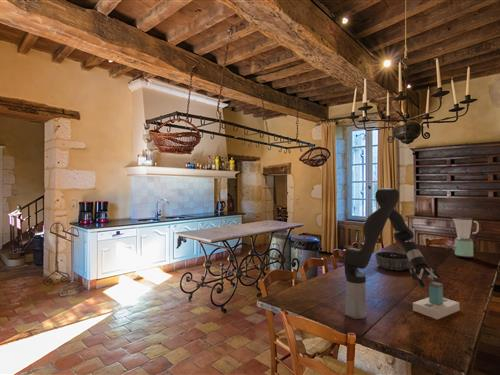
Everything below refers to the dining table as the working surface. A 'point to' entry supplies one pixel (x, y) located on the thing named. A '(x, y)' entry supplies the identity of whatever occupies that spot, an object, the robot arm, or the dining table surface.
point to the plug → (436, 293)
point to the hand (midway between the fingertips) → (431, 286)
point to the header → (436, 308)
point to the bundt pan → (393, 260)
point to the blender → (464, 237)
